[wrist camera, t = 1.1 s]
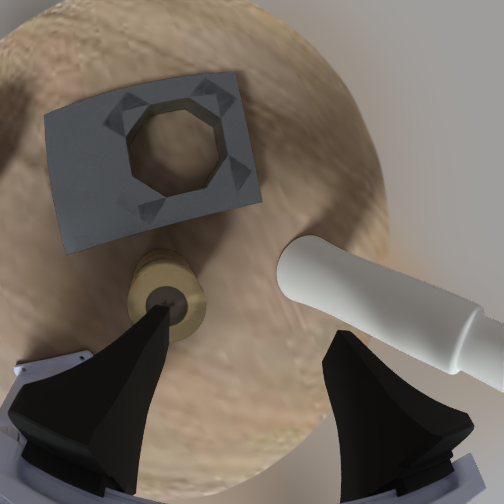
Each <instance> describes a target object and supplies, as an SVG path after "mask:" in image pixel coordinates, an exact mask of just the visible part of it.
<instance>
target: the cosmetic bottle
mask: <svg viewBox="0 0 504 504" xmlns="http://www.w3.org/2000/svg"><path fill="white" fill-rule="evenodd" d="M277 281H278V285H279V287H280V289H281V291H282V292H283V293H284V295H285V296H287V297H288V298H289V299H291V300H293V301H296V302H300V303H303V304H306V305H309V306H311V307H314V308H316V309H319V310H321V311H323V312H326V313H328V314H330V315H332V316H334V317H336V318H338V319H340V320H342V321H344V322H346V323H348V324H350V325H352V326H354V327H356V328H358V329H360V330H362V331H364V332H366V333H367V334H369V335H371V336H373V337H375V338H377V339H379V340H381V341H383V342H385V343H387V344H389V345H391V346H393V347H395V348H397V349H398V350H400V351H403V352H404V353H407V354H408V355H411V356H413V357H415V358H417V359H419V360H421V361H423V362H425V363H427V364H429V365H431V366H433V367H436V368H438V369H440V370H442V371H444V372H447V373H449V374H452V375H453V374H456V373H458V372H459V371H460V370H462V371H464V372H466V373H467V374H469V375H471V376H473V377H475V378H477V379H479V380H480V381H482V382H484V383H486V384H488V385H490V386H492V387H494V388H496V389H497V390H499V391H501V392H503V393H504V323H501V322H499V321H496V320H494V319H491V318H488V317H486V316H485V314H484V309H483V307H482V306H481V305H479V304H477V303H475V302H472V301H470V300H468V299H465V298H463V297H461V296H459V295H456V294H454V293H452V292H449V291H447V290H444V289H442V288H439V287H437V286H434V285H432V284H429V283H427V282H424V281H421V280H419V279H416V278H414V277H411V276H408V275H406V274H403V273H401V272H398V271H395V270H392V269H390V268H387V267H385V266H382V265H379V264H377V263H374V262H371V261H369V260H366V259H364V258H361V257H358V256H356V255H354V254H351V253H349V252H347V251H344V250H342V249H340V248H338V247H336V246H334V245H332V244H330V243H329V242H327V241H325V240H324V239H322V238H320V237H317V236H312V235H308V236H303V237H300V238H297V239H296V240H294V241H293V242H291V243H290V244H289V245H288V246H287V247H286V248H285V250H284V251H283V253H282V254H281V256H280V259H279V261H278V265H277Z"/></svg>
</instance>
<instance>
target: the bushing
mask: <svg viewBox="0 0 504 504" xmlns="http://www.w3.org/2000/svg"><path fill="white" fill-rule="evenodd" d="M156 304H157V305H162V306H167V307H170V324H169V342H175V341H179V340H182V339H184V338H186V337H188V336H190V335H191V334H192V333H194V332H195V331H196V330H197V329H198V327H199V326H200V324H201V323H202V321H203V319H204V316H205V312H206V298H205V294H204V291H203V289H202V287H201V286H200V284H199V282H198V280H197V279H196V277H195V275H194V273H193V272H192V270H191V268H190V266H189V264H188V263H187V261H186V260H185V259H184V258H183V257H182V256H181V255H180V254H178V253H177V252H175V251H172V250H168V249H158V250H154V251H151V252H149V253H147V254H146V255H144V256H143V257H142V258H141V260H140V261H139V262H138V264H137V266H136V269H135V272H134V276H133V279H132V283H131V287H130V290H129V294H128V299H127V310H128V314H129V317H130V320H131V322H132V323H133V325H134V324H135V323H136V322H138V321H139V320H140V319H141V318H142V317H143V316H144V315H145V314H146V313H147V312H148V311H149V310H150V309H151V308H152V307H153V306H154V305H156Z"/></svg>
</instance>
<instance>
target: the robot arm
mask: <svg viewBox="0 0 504 504" xmlns="http://www.w3.org/2000/svg"><path fill="white" fill-rule="evenodd" d="M169 324H170V307H167V306H162V305H157V304H156V305H154V306H153V307H152V308H151V309H150V310H149V311H148V312H147V313H146V314H145V315H144V316H143V317H142V318H141V319H140V320H139V321H138V322H136V323H135V324H134V325H133V326H132V327H131V328H130V329H129V330H128V331H126V332H125V333H124V334H123V335H122V336H120V337H119V338H118V339H117V340H115V341H114V342H113V343H112V344H110V345H109V346H107V347H106V348H105V349H103V350H102V351H100V352H99V353H97V354H96V355H94V356H93V354H92V353H91V352H90V351H87V350H85V351H81V352H77V353H72V354H68V355H63V356H59V357H54V358H49V359H44V360H40V361H35V362H29V363H24V364H19V365H15V367H14V372H15V373H16V375H17V379H16V381H15V382H14V384H13V386H12V387H11V389H10V391H9V393H8V395H7V397H6V398H5V400H4V402H3V404H2V406H1V408H0V504H165V503H161V502H156V501H152V500H147V499H143V498H139V497H135V496H132V495H134V494H136V486H137V476H138V467H139V459H140V452H141V446H142V440H143V434H144V429H145V424H146V419H147V414H148V410H149V407H150V403H151V400H152V397H153V395H154V392H155V389H156V386H157V383H158V380H159V377H160V375H161V372H162V369H163V366H164V363H165V359H166V354H167V350H168V345H169ZM80 356H83V357H84V358H85V359H82V358H81V357H80ZM322 366H323V374H324V381H325V385H326V388H327V392H328V396H329V399H330V403H331V406H332V410H333V413H334V417H335V420H336V425H337V429H338V437H339V443H340V455H341V477H342V478H341V498H340V504H467V503H468V502H470V501H471V500H472V499H474V498H475V497H476V496H478V495H479V494H480V493H482V492H483V491H484V490H485V489H486V486H485V484H484V481H483V479H482V476H481V474H480V472H479V470H478V467H477V465H476V463H475V461H474V459H473V456H472V454H471V453H469V454H467V455H465V456H463V457H461V458H459V459H457V460H456V461H454V462H453V463H451V461H450V458H452V457H453V453H452V451H451V450H453V449H454V448H455V447H456V446H457V445H459V444H460V443H461V442H462V441H463V440H464V439H465V438H466V437H467V436H468V435H469V434H470V433H471V432H472V431H473V429H474V424H473V422H472V420H471V419H470V417H469V415H468V414H467V413H465V412H462V411H459V410H456V409H454V408H450V407H448V406H446V405H444V404H442V403H440V402H438V401H435V400H434V399H432V398H430V397H428V396H427V395H425V394H423V393H422V392H420V391H418V390H417V389H415V388H414V387H412V386H411V385H409V384H408V383H407V382H406V381H404V380H403V379H402V378H400V377H399V376H398V375H397V374H395V373H394V372H393V371H392V370H391V369H390V368H388V367H387V366H386V365H385V364H384V363H383V362H382V361H381V360H380V359H379V358H378V357H377V356H376V355H375V354H374V353H372V351H371V350H369V349H368V348H367V347H366V346H365V345H364V344H363V343H362V342H361V341H360V340H359V339H358V338H357V337H356V336H355V335H354V334H353V333H352V332H350V331H345V330H337V332H336V335H335V337H334V339H333V341H332V343H331V345H330V347H329V349H328V351H327V353H326V355H325V357H324V359H323V361H322ZM24 368H25V369H26V370H25V369H24Z"/></svg>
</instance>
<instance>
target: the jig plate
mask: <svg viewBox="0 0 504 504" xmlns="http://www.w3.org/2000/svg"><path fill="white" fill-rule="evenodd" d="M183 109H185V110H187V111H188V112H190V113H192V114H193V115H195V116H196V117H198V118H199V119H201V120H202V121H204V122H205V123H207V124H209V125H210V126H212V127H213V130H214V135H215V140H216V145H217V150H218V155H219V160H220V161H219V162H218V164H217V165H216V167H215V168H214V170H213V171H212V173H211V174H210V176H209V177H208V179H207V180H206V182H205V183H204V185H203V186H202V188H201V189H200V190H195V191H191V192H187V193H183V194H178V195H174V196H170V197H165V196H163V195H161V194H160V193H158V192H157V191H155V190H153V189H152V188H150V187H149V186H147V185H145V184H144V183H142V182H140V181H139V180H137V179H136V178H135V177H134V172H133V167H132V161H131V156H130V150H129V144H130V143H131V141H132V140H133V138H134V137H135V135H136V134H137V133H138V131H139V130H140V128H141V127H142V126H143V124H144V123H145V122H146V120H147V119H148V118H149V116H152V115H156V114H161V113H166V112H171V111H177V110H183ZM44 125H45V141H46V152H47V161H48V169H49V177H50V183H51V189H52V195H53V201H54V206H55V211H56V215H57V220H58V224H59V228H60V233H61V236H62V240H63V244H64V248H65V251H66V255H68V254H71V253H74V252H78V251H81V250H84V249H87V248H90V247H93V246H97V245H100V244H103V243H107V242H110V241H113V240H117V239H120V238H123V237H127V236H130V235H134V234H137V233H141V232H144V231H148V230H152V229H155V228H159V227H163V226H166V225H170V224H174V223H178V222H181V221H185V220H189V219H193V218H197V217H201V216H205V215H209V214H213V213H217V212H221V211H226V210H230V209H234V208H238V207H243V206H247V205H252V204H256V203H260V202H262V197H261V192H260V187H259V182H258V177H257V172H256V167H255V162H254V157H253V152H252V147H251V142H250V138H249V133H248V128H247V123H246V119H245V114H244V109H243V105H242V100H241V95H240V91H239V86H238V82H237V77H236V73H235V72H222V73H210V74H200V75H192V76H184V77H177V78H171V79H165V80H159V81H154V82H149V83H144V84H140V85H135V86H131V87H127V88H123V89H119V90H115V91H111V92H108V93H104V94H101V95H97V96H94V97H91V98H88V99H85V100H82V101H79V102H76V103H73V104H70V105H68V106H65V107H62V108H60V109H57V110H55V111H52V112H50V113H47V114H45V115H44Z"/></svg>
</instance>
